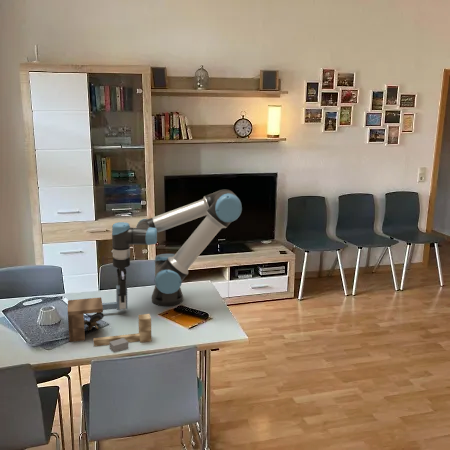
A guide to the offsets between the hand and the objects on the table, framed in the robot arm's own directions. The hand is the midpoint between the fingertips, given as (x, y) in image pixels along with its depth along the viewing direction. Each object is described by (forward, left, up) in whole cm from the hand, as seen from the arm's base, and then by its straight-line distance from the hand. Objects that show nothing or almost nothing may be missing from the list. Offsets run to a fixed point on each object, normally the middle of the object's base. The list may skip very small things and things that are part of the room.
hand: (122, 306), depth 225 cm
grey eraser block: (+4, +33, -4) cm, 33 cm away
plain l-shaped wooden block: (+2, +28, -3) cm, 28 cm away
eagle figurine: (+13, +13, -4) cm, 18 cm away
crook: (+9, +4, -1) cm, 10 cm away
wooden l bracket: (+16, +17, -3) cm, 24 cm away
